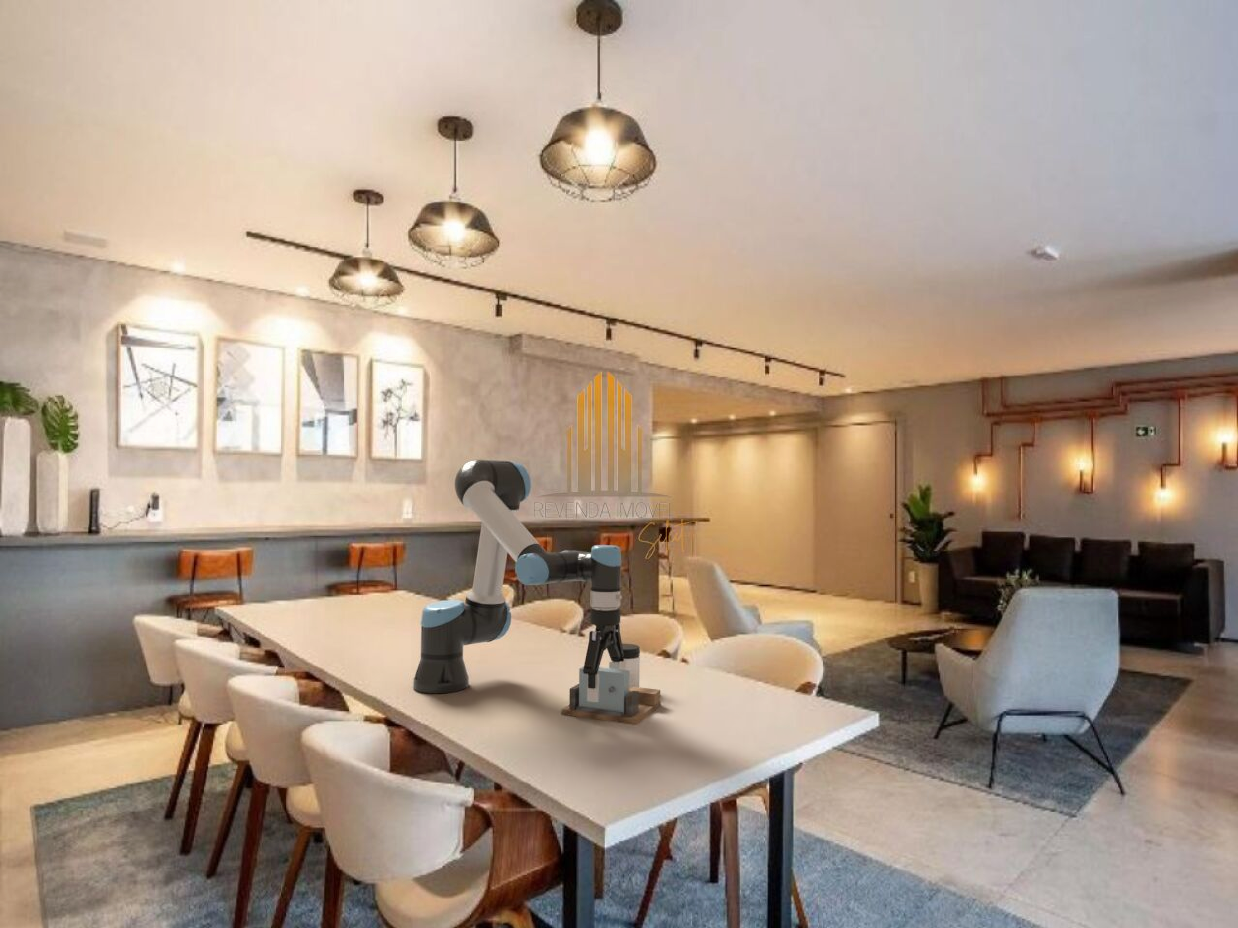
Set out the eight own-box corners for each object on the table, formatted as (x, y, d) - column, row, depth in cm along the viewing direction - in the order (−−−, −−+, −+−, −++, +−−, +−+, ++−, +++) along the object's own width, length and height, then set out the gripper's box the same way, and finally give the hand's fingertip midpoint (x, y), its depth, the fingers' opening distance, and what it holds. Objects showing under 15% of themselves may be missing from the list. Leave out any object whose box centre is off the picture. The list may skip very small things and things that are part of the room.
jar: (619, 695, 196) (620, 650, 197) (603, 688, 203) (604, 645, 204) (646, 690, 201) (646, 647, 202) (629, 684, 208) (630, 642, 208)
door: (576, 710, 178) (577, 669, 178) (584, 705, 182) (585, 665, 182) (622, 716, 173) (622, 674, 174) (628, 711, 177) (629, 670, 178)
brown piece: (561, 714, 178) (561, 688, 179) (590, 695, 195) (591, 672, 195) (636, 724, 171) (637, 698, 171) (660, 704, 188) (661, 680, 188)
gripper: (599, 616, 166) (597, 709, 165) (636, 602, 189) (635, 683, 188) (569, 613, 169) (568, 705, 168) (610, 600, 192) (609, 680, 191)
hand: (604, 694), depth 178 cm, fingers open, 13 cm apart
